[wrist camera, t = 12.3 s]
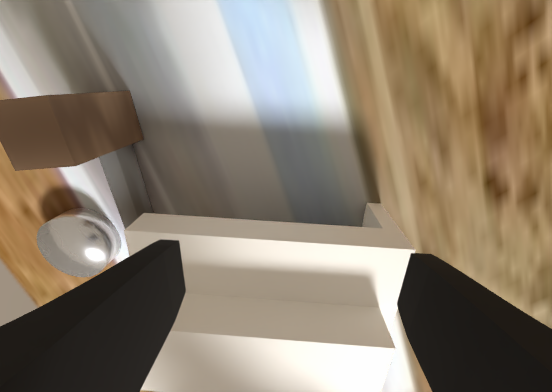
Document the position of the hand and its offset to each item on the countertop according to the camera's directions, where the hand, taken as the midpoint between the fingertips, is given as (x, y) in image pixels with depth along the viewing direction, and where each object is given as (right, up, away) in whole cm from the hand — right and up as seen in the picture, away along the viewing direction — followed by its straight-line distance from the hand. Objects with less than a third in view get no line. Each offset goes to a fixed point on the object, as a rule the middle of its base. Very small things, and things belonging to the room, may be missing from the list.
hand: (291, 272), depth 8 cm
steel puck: (-15, -1, +13) cm, 20 cm away
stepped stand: (-1, -1, +12) cm, 12 cm away
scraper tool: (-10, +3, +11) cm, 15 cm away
